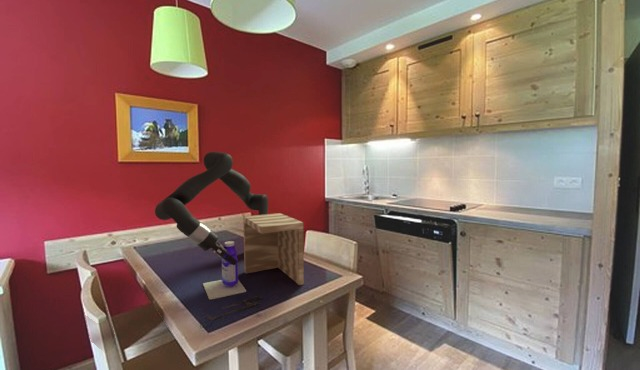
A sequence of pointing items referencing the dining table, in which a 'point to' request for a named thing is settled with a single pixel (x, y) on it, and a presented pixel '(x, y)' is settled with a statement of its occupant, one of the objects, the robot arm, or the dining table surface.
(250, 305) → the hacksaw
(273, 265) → the wooden slatted crate
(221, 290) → the mat
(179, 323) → the dining table surface
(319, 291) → the dining table surface
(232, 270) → the bottle
